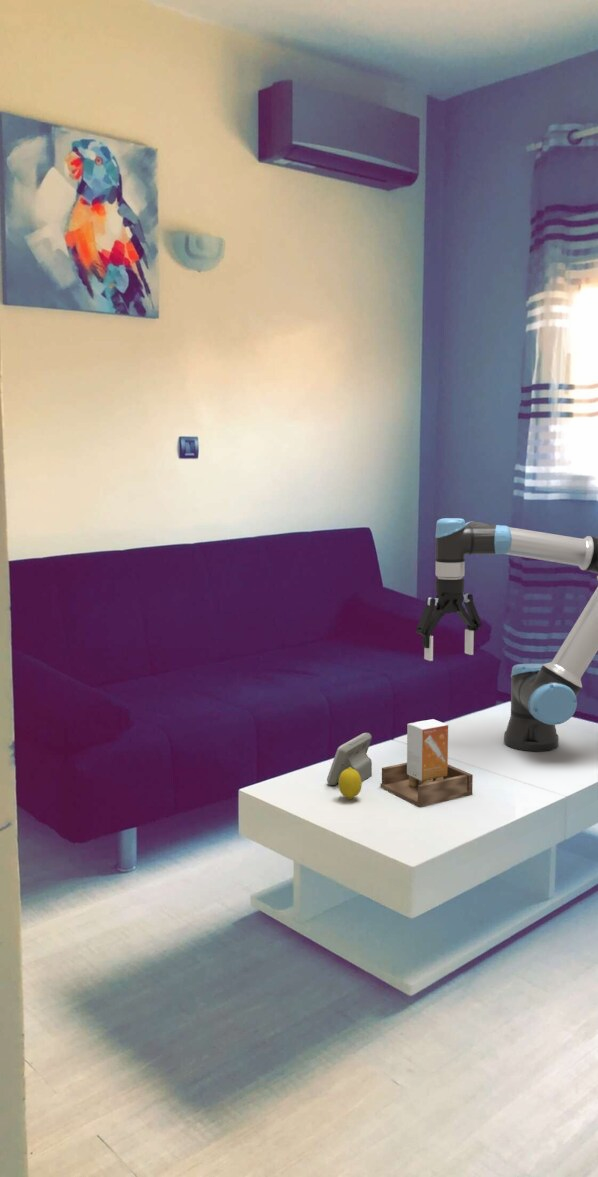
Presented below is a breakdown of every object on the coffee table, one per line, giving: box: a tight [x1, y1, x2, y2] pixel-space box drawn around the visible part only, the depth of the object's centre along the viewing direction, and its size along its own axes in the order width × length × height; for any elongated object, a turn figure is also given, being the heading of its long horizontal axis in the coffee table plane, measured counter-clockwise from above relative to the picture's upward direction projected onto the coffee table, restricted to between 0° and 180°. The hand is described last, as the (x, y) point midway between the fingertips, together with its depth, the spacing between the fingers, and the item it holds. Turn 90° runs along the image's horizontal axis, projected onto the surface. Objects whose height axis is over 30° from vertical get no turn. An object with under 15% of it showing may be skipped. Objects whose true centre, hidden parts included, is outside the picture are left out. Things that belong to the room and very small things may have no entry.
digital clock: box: [326, 732, 373, 786], centre depth 247 cm, size 16×9×11 cm, turn 138°
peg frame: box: [379, 762, 474, 808], centre depth 238 cm, size 16×16×5 cm
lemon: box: [337, 767, 363, 800], centre depth 232 cm, size 6×6×8 cm
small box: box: [406, 718, 449, 781], centre depth 237 cm, size 8×6×13 cm
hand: (449, 657), depth 256 cm, fingers open, 13 cm apart
